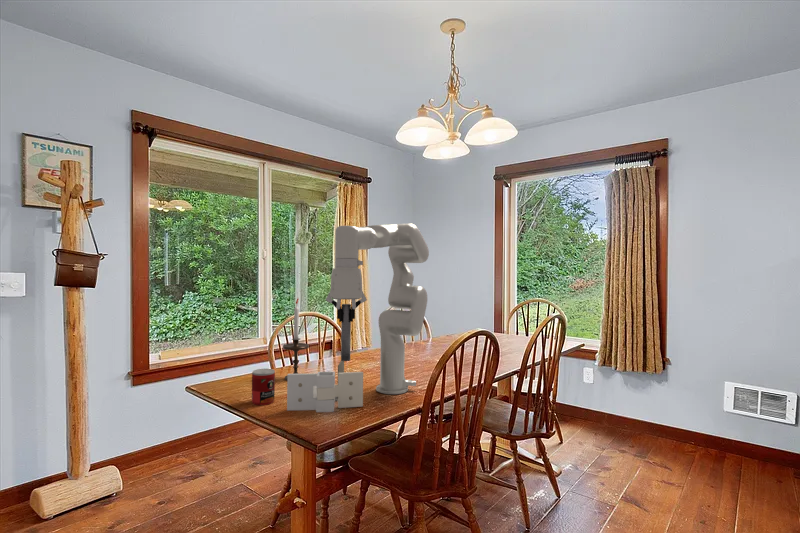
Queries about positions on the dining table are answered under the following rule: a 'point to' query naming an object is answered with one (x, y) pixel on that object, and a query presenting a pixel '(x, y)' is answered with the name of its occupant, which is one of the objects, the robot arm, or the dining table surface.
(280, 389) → the dining table surface
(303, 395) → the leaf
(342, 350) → the pin
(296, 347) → the candlestick
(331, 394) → the leaf
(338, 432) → the dining table surface
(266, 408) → the dining table surface
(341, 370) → the laptop
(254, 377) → the canned food
